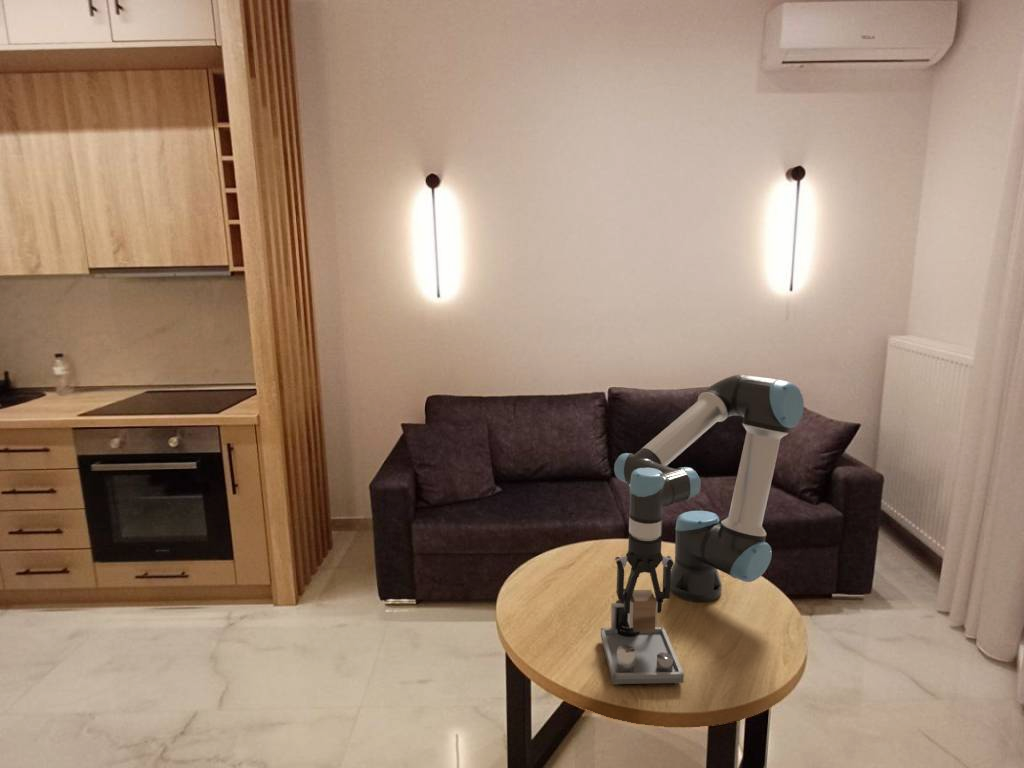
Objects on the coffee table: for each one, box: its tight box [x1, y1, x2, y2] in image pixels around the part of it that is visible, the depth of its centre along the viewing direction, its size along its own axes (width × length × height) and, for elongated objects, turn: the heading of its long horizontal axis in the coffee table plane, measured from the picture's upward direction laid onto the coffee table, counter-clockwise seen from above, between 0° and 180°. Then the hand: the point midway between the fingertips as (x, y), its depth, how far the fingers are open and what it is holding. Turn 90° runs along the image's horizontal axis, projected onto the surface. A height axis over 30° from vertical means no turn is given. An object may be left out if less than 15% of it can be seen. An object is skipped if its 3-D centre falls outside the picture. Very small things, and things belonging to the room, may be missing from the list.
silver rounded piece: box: [617, 645, 635, 673], centre depth 141 cm, size 4×4×5 cm
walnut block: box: [632, 589, 656, 632], centre depth 147 cm, size 5×5×8 cm
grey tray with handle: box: [600, 602, 685, 686], centre depth 147 cm, size 16×18×10 cm
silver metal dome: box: [656, 653, 673, 672], centre depth 141 cm, size 4×4×3 cm
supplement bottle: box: [615, 588, 640, 637], centre depth 156 cm, size 7×7×12 cm
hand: (642, 624), depth 148 cm, fingers closed on walnut block, 5 cm apart
